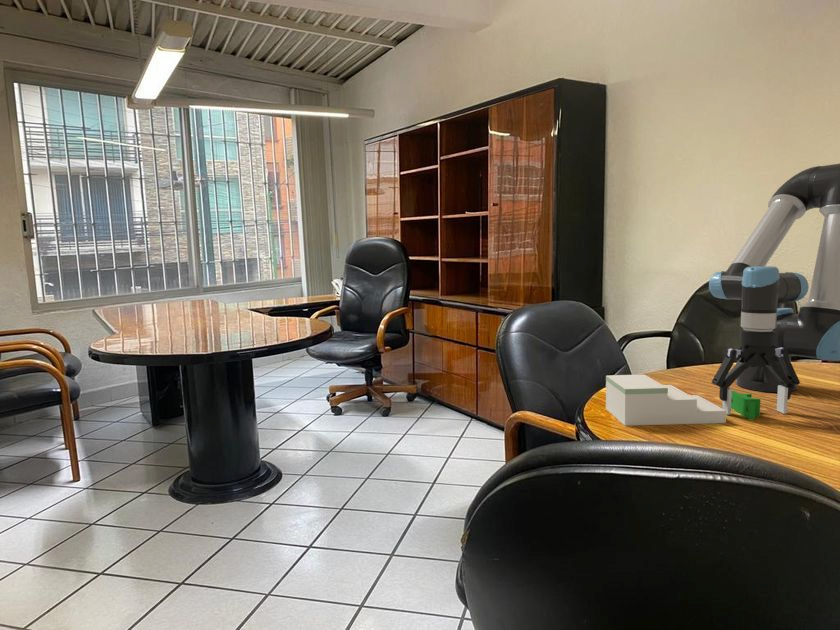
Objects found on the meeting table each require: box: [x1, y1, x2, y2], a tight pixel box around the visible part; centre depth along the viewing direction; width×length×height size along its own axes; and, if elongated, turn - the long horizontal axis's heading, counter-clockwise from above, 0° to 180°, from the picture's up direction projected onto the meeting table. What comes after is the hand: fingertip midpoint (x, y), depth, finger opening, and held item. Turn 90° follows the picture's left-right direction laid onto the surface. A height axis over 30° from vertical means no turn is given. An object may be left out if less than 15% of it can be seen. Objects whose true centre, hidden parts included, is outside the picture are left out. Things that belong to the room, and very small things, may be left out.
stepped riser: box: [605, 374, 727, 427], centre depth 136 cm, size 24×14×9 cm, turn 89°
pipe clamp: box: [731, 390, 761, 421], centre depth 136 cm, size 11×4×5 cm, turn 174°
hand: (753, 412), depth 136 cm, fingers open, 13 cm apart
